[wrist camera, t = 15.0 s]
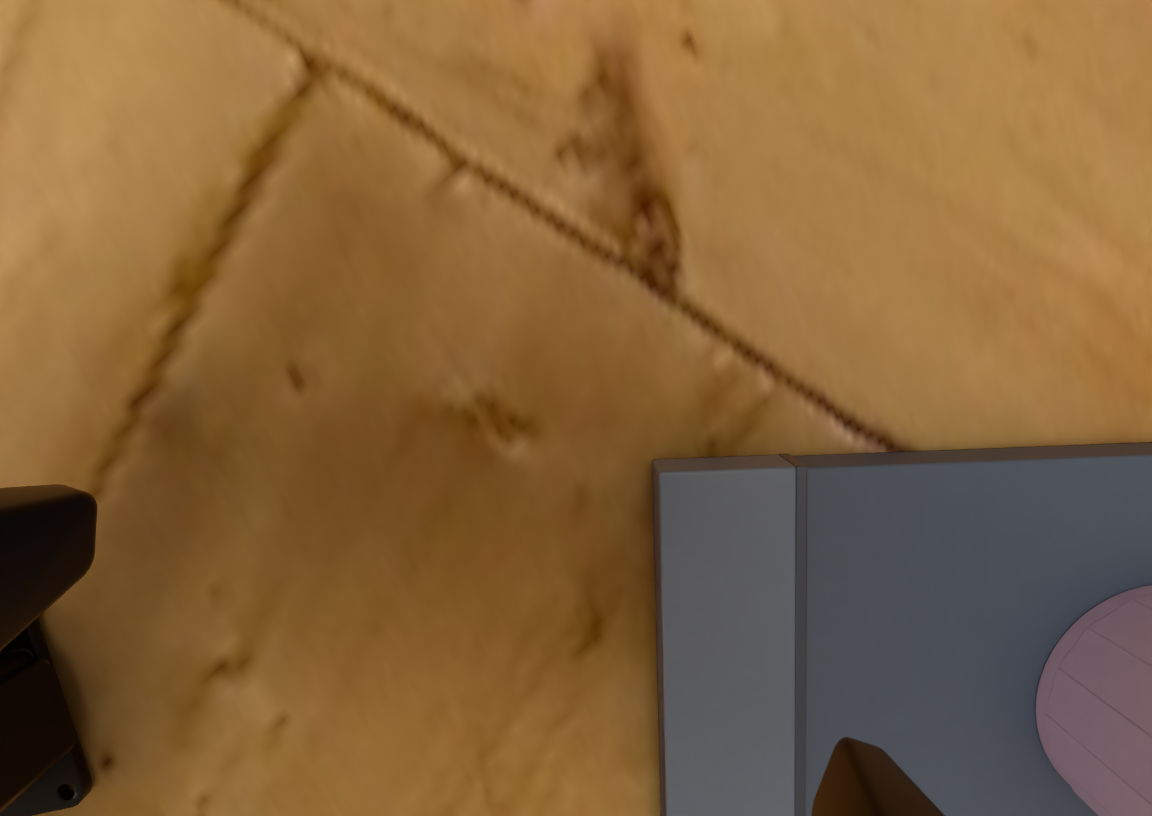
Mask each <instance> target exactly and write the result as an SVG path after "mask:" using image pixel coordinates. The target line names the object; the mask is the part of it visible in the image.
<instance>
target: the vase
mask: <svg viewBox="0 0 1152 816" xmlns="http://www.w3.org/2000/svg"><path fill="white" fill-rule="evenodd" d="M1036 722H1037V728H1038V732H1039V737H1040V740H1041V743H1042V745H1043V748H1044V751H1045V753H1046V755H1047V757H1048V758H1049V760H1050V762H1051V764H1052V765H1053V767H1054V768H1055V769H1056V770H1057V772H1058V773H1059V774H1060V776H1061V777H1062V778H1063V779H1064V780H1065V781H1066V782H1067V783H1068V784H1070V786H1071V787H1072V789H1073V790H1074V792H1075V793H1076V794H1077V795H1078V796H1079V797H1080V798H1081V799H1082V800H1083V801H1084V802H1085V803H1086V804H1087V805H1088V806H1089V807H1090V808H1091V809H1092V810H1093V811H1094V812H1095V813H1096V814H1097V815H1098V816H1152V585H1150V586H1143V587H1139V588H1135V589H1132V590H1128V591H1125V592H1123V593H1120V594H1118V595H1116V596H1113V597H1111V598H1109V599H1107V600H1105V601H1104V602H1102V603H1100V604H1098V605H1096V606H1095V607H1094V608H1092V609H1091V610H1089V611H1088V612H1087V613H1085V614H1084V615H1083V616H1082V617H1080V618H1079V619H1078V620H1077V621H1076V622H1075V623H1074V624H1073V625H1072V626H1071V627H1070V628H1069V629H1068V630H1067V631H1066V633H1065V634H1064V635H1063V636H1062V637H1061V638H1060V640H1059V641H1058V643H1057V644H1056V646H1055V647H1054V649H1053V650H1052V652H1051V654H1050V656H1049V658H1048V660H1047V662H1046V664H1045V666H1044V669H1043V672H1042V675H1041V678H1040V680H1039V685H1038V690H1037V695H1036Z"/></svg>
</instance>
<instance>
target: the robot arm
mask: <svg viewBox="0 0 1152 816" xmlns="http://www.w3.org/2000/svg"><path fill="white" fill-rule="evenodd" d="M96 521H97V504H96V501H95V499H94V497H93V496H92V495H91V494H89V493H87V492H84V491H81V490H78V489H74V488H71V487H68V486H65V485H40V486H26V487H11V488H0V816H31V815H36V814H41V813H46V812H51V811H56V810H61V809H65V808H70V807H73V806H76V805H78V804H79V803H80V802H81V801H82V800H83V799H84V798H85V797H86V796H87V794H88V793H89V792H90V791H91V788H92V779H91V776H90V773H89V770H88V767H87V764H86V761H85V758H84V755H83V752H82V749H81V746H80V743H79V740H78V737H77V734H76V731H75V728H74V725H73V723H72V720H71V717H70V714H69V711H68V708H67V705H66V702H65V699H64V696H63V693H62V690H61V687H60V684H59V681H58V678H57V675H56V672H55V669H54V666H53V663H52V660H51V657H50V654H49V651H48V648H47V645H46V642H45V639H44V636H43V633H42V630H41V627H40V624H39V621H38V618H37V617H39V616H40V615H41V614H42V613H43V612H44V611H45V610H46V609H47V608H49V607H50V606H51V605H52V604H53V603H54V602H55V601H56V600H57V599H59V598H60V597H61V596H62V595H63V594H64V593H65V592H66V591H67V590H69V589H70V588H71V587H72V586H73V585H74V584H75V583H76V582H78V581H79V580H80V579H81V578H82V577H83V576H84V575H85V574H86V572H87V571H88V570H89V568H90V566H91V564H92V562H93V559H94V554H95V538H96ZM67 784H69V785H71V786H72V787H73V788H74V790H75V791H73V790H71V789H70V788H69V787H68V786H67ZM811 816H945V815H944V814H943V813H942V812H941V811H940V810H939V809H938V808H937V806H936V805H935V804H934V803H933V802H932V801H931V800H930V799H929V798H928V797H927V796H926V795H925V794H924V793H923V792H922V790H921V789H920V788H919V787H918V786H917V785H916V784H915V783H914V782H913V781H912V780H911V779H910V778H909V777H908V775H907V774H906V773H905V772H904V771H903V770H902V769H901V768H900V767H899V766H898V765H897V764H896V763H895V762H894V760H893V759H892V758H891V757H890V756H889V755H888V754H887V753H886V752H885V751H884V750H883V749H881V748H880V747H878V746H875V745H872V744H869V743H866V742H862V741H859V740H856V739H853V738H850V737H844V738H842V739H840V740H839V741H838V742H837V744H836V745H835V747H834V750H833V752H832V755H831V757H830V760H829V762H828V765H827V767H826V770H825V772H824V775H823V777H822V780H821V782H820V785H819V788H818V790H817V793H816V795H815V798H814V802H813V807H812V813H811Z"/></svg>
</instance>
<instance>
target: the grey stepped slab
mask: <svg viewBox="0 0 1152 816" xmlns="http://www.w3.org/2000/svg"><path fill="white" fill-rule="evenodd" d="M652 473H653V515H654V556H655V597H656V639H657V680H658V722H659V763H660V804H661V816H811V813H812V807H813V802H814V798H815V795H816V793H817V790H818V788H819V785H820V782H821V780H822V777H823V775H824V772H825V770H826V767H827V765H828V762H829V760H830V757H831V755H832V752H833V750H834V747H835V745H836V744H837V742H838V741H839V740H840V739H842V738H844V737H850V738H853V739H856V740H859V741H862V742H866V743H869V744H872V745H875V746H878V747H880V748H881V749H883V750H884V751H885V752H886V753H887V754H888V755H889V756H890V757H891V758H892V759H893V760H894V762H895V763H896V764H897V765H898V766H899V767H900V768H901V769H902V770H903V771H904V772H905V773H906V774H907V775H908V777H909V778H910V779H911V780H912V781H913V782H914V783H915V784H916V785H917V786H918V787H919V788H920V789H921V790H922V792H923V793H924V794H925V795H926V796H927V797H928V798H929V799H930V800H931V801H932V802H933V803H934V804H935V805H936V806H937V808H938V809H939V810H940V811H941V812H942V813H943V814H944V815H945V816H1098V815H1097V814H1096V813H1095V812H1094V811H1093V810H1092V809H1091V808H1090V807H1089V806H1088V805H1087V804H1086V803H1085V802H1084V801H1083V800H1082V799H1081V798H1080V797H1079V796H1078V795H1077V794H1076V793H1075V792H1074V790H1073V789H1072V787H1071V786H1070V784H1068V783H1067V782H1066V781H1065V780H1064V779H1063V778H1062V777H1061V776H1060V774H1059V773H1058V772H1057V770H1056V769H1055V768H1054V767H1053V765H1052V764H1051V762H1050V760H1049V758H1048V757H1047V755H1046V753H1045V751H1044V748H1043V745H1042V743H1041V740H1040V737H1039V732H1038V728H1037V722H1036V695H1037V690H1038V685H1039V680H1040V678H1041V675H1042V672H1043V669H1044V666H1045V664H1046V662H1047V660H1048V658H1049V656H1050V654H1051V652H1052V650H1053V649H1054V647H1055V646H1056V644H1057V643H1058V641H1059V640H1060V638H1061V637H1062V636H1063V635H1064V634H1065V633H1066V631H1067V630H1068V629H1069V628H1070V627H1071V626H1072V625H1073V624H1074V623H1075V622H1076V621H1077V620H1078V619H1079V618H1080V617H1082V616H1083V615H1084V614H1085V613H1087V612H1088V611H1089V610H1091V609H1092V608H1094V607H1095V606H1096V605H1098V604H1100V603H1102V602H1104V601H1105V600H1107V599H1109V598H1111V597H1113V596H1116V595H1118V594H1120V593H1123V592H1125V591H1128V590H1132V589H1135V588H1139V587H1143V586H1150V585H1152V442H1149V443H1122V444H1096V445H1070V446H1043V447H1017V448H991V449H965V450H938V451H912V452H886V453H860V454H833V455H807V456H791V455H789V454H779V455H760V456H734V457H707V458H681V459H655V460H653V462H652Z"/></svg>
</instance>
